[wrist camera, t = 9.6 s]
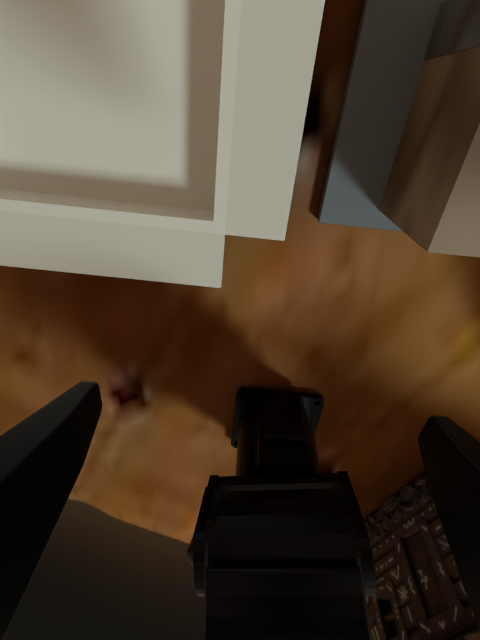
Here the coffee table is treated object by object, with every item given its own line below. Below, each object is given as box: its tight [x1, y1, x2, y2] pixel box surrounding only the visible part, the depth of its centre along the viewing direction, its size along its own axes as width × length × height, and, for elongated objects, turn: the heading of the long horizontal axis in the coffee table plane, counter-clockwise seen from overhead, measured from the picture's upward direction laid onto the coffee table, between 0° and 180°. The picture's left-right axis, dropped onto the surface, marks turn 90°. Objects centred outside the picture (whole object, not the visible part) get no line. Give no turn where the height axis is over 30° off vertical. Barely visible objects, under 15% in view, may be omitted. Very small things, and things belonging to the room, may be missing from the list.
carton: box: [0, 0, 325, 288], centre depth 14 cm, size 21×20×2 cm
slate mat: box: [318, 0, 447, 231], centre depth 16 cm, size 10×10×1 cm
